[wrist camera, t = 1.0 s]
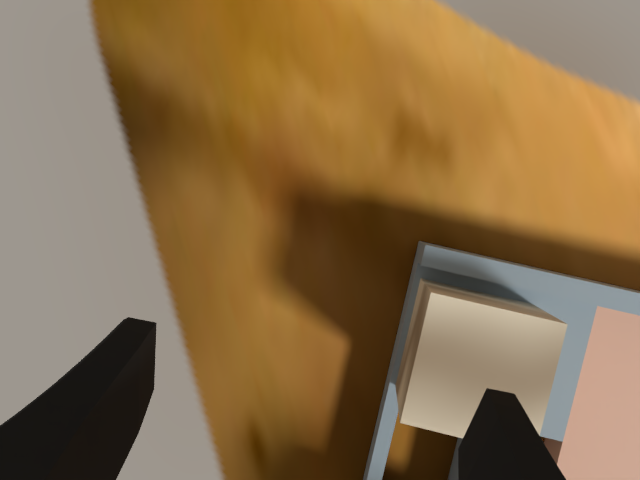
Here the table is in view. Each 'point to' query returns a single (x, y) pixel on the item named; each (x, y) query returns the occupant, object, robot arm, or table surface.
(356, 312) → the table surface
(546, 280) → the trap box
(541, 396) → the beech block
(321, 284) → the table surface
